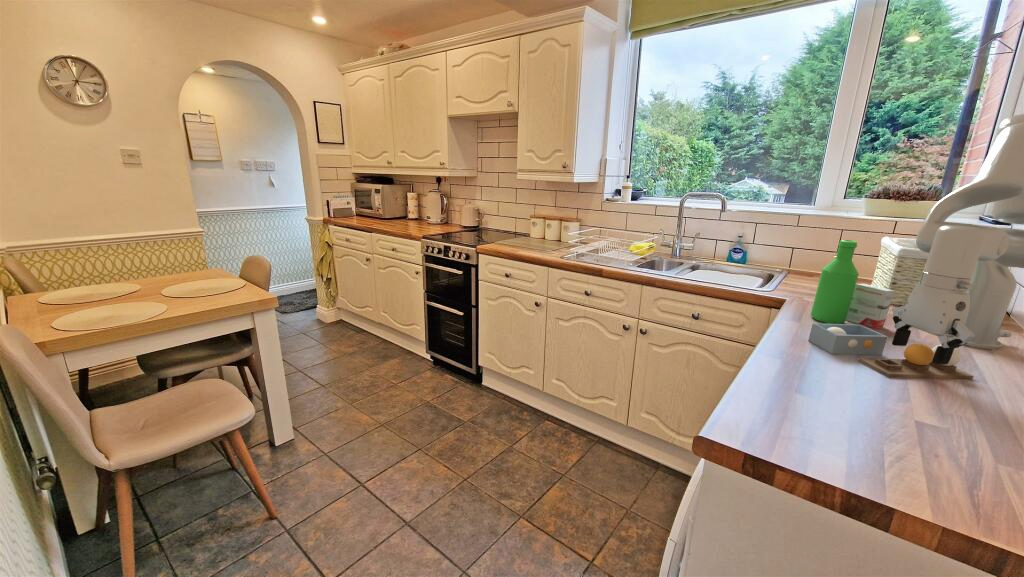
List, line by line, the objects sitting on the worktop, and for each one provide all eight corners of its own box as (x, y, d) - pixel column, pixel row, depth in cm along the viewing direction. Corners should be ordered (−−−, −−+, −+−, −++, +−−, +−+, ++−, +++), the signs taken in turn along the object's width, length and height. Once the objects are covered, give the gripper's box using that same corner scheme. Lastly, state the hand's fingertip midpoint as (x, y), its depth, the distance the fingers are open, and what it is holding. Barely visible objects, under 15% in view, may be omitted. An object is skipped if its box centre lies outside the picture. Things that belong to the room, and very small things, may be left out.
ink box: (883, 327, 125) (895, 289, 122) (875, 329, 123) (887, 291, 119) (851, 317, 132) (862, 282, 129) (843, 319, 130) (853, 283, 127)
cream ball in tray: (834, 341, 111) (839, 324, 109) (849, 349, 106) (854, 331, 104) (816, 341, 110) (820, 323, 109) (830, 349, 106) (835, 331, 104)
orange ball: (915, 359, 99) (921, 340, 98) (936, 369, 94) (943, 349, 93) (895, 359, 99) (901, 339, 98) (915, 369, 94) (922, 348, 93)
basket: (986, 320, 136) (1011, 255, 130) (881, 304, 148) (899, 244, 142) (953, 299, 158) (974, 243, 152) (865, 287, 171) (880, 235, 165)
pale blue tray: (855, 341, 113) (860, 324, 111) (882, 355, 105) (888, 337, 103) (808, 340, 112) (812, 323, 111) (832, 354, 104) (837, 335, 103)
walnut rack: (936, 362, 101) (939, 356, 101) (972, 379, 94) (975, 371, 93) (858, 361, 101) (860, 354, 100) (887, 377, 93) (890, 370, 92)
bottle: (850, 326, 124) (874, 244, 117) (818, 323, 126) (840, 242, 119) (835, 316, 132) (856, 239, 125) (804, 314, 134) (824, 237, 127)
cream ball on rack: (941, 360, 100) (948, 341, 98) (963, 370, 95) (971, 350, 93) (921, 359, 99) (927, 340, 98) (942, 369, 95) (950, 349, 93)
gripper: (1006, 294, 83) (975, 372, 88) (921, 273, 100) (898, 339, 104) (970, 293, 83) (941, 370, 87) (891, 272, 99) (870, 338, 104)
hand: (918, 353), depth 96 cm, fingers open, 9 cm apart
